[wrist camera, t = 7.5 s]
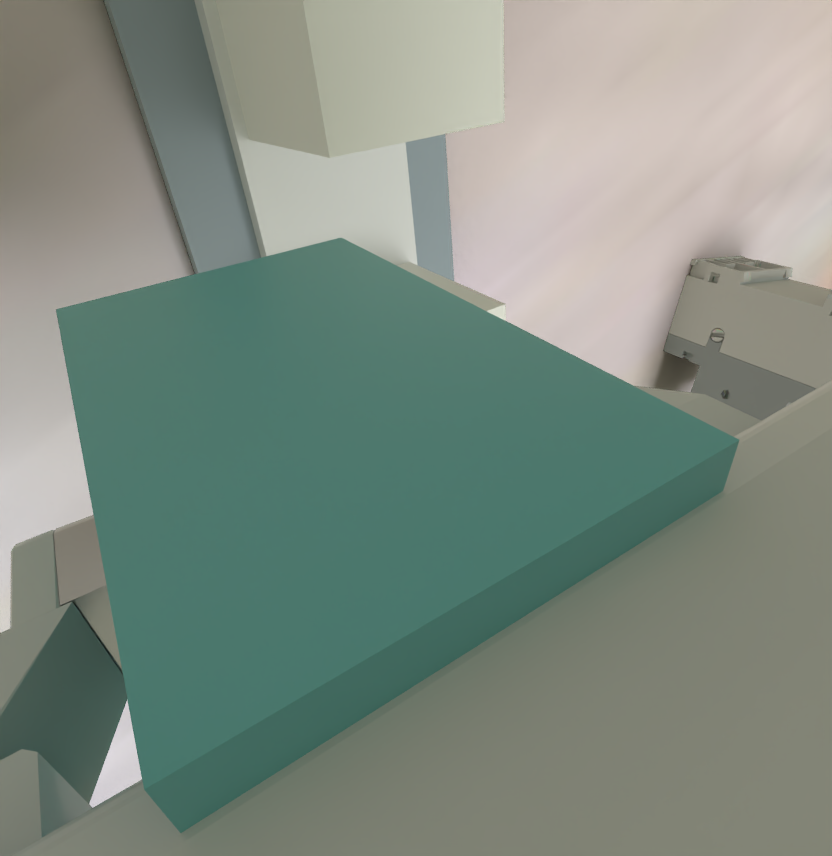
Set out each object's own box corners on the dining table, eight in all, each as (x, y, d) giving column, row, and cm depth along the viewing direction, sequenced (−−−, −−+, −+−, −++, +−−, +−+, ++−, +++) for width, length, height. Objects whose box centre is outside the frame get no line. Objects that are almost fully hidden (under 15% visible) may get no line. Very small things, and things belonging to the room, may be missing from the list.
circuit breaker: (644, 410, 54) (805, 492, 43) (691, 259, 47) (897, 311, 36) (690, 397, 57) (849, 470, 47) (740, 256, 51) (940, 302, 40)
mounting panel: (29, -222, 17) (45, -441, 10) (411, -195, 23) (600, -325, 15) (261, 472, 33) (331, 579, 26) (452, 390, 39) (554, 460, 32)
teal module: (55, 309, 10) (144, 789, 3) (340, 237, 12) (740, 440, 5) (156, 516, 13) (309, 986, 6) (370, 428, 15) (652, 709, 8)
